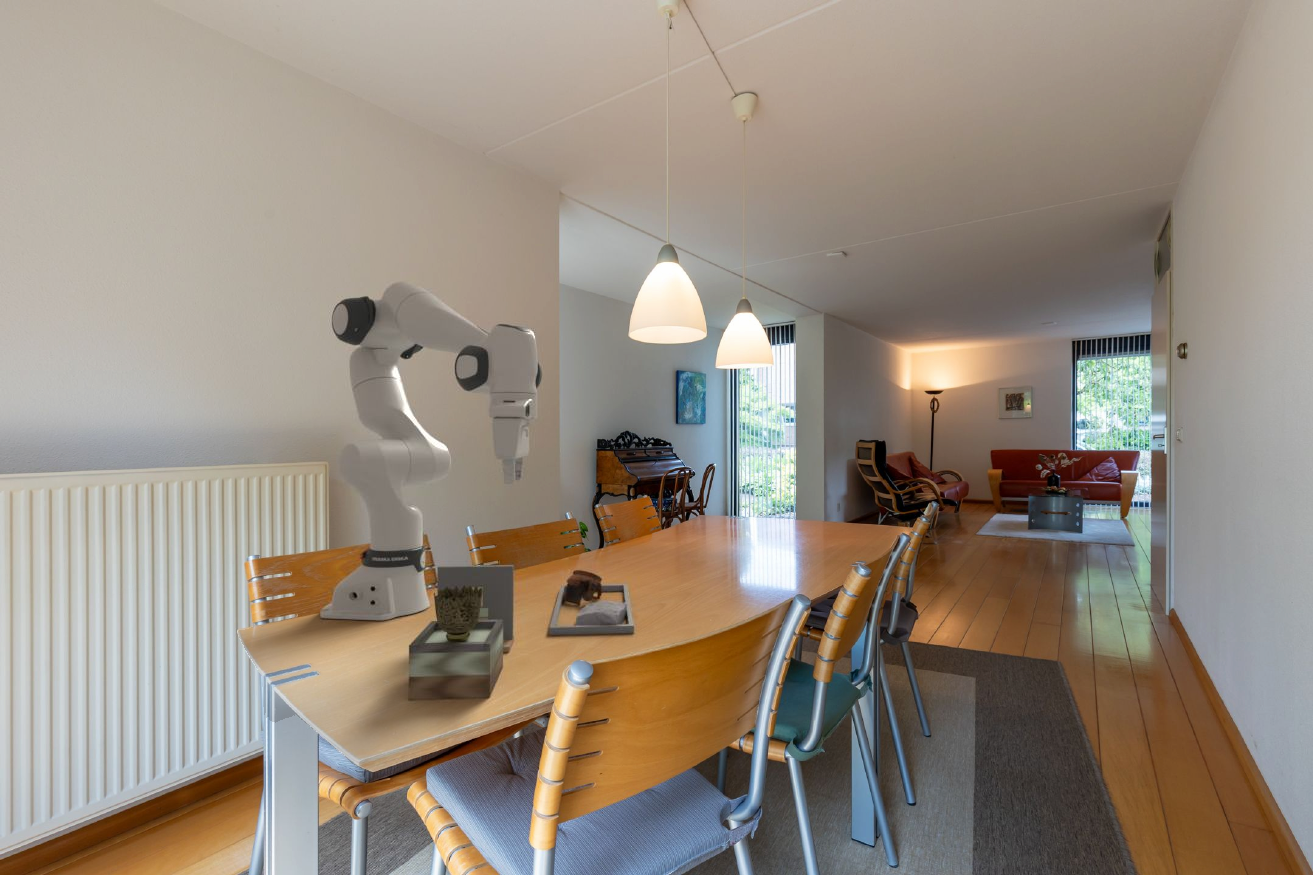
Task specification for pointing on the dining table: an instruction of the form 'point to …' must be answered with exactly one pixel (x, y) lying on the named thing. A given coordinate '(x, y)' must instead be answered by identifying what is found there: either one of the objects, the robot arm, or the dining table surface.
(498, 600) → the board
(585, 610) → the stone block
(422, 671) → the striped square box
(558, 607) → the tray rim
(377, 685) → the dining table surface
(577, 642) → the dining table surface
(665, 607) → the dining table surface
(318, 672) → the dining table surface
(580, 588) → the pottery mug
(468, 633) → the cup
